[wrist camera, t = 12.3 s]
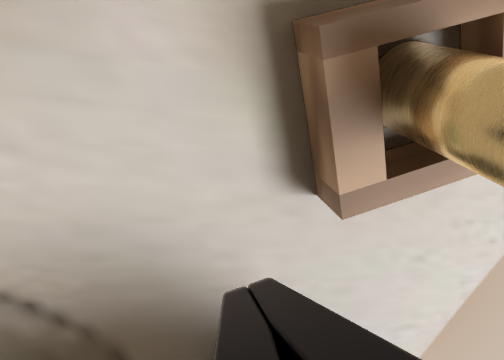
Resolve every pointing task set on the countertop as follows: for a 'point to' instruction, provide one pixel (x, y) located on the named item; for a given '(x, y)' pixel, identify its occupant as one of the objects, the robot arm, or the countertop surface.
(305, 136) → the countertop surface
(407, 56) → the peg
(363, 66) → the jig
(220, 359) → the robot arm
